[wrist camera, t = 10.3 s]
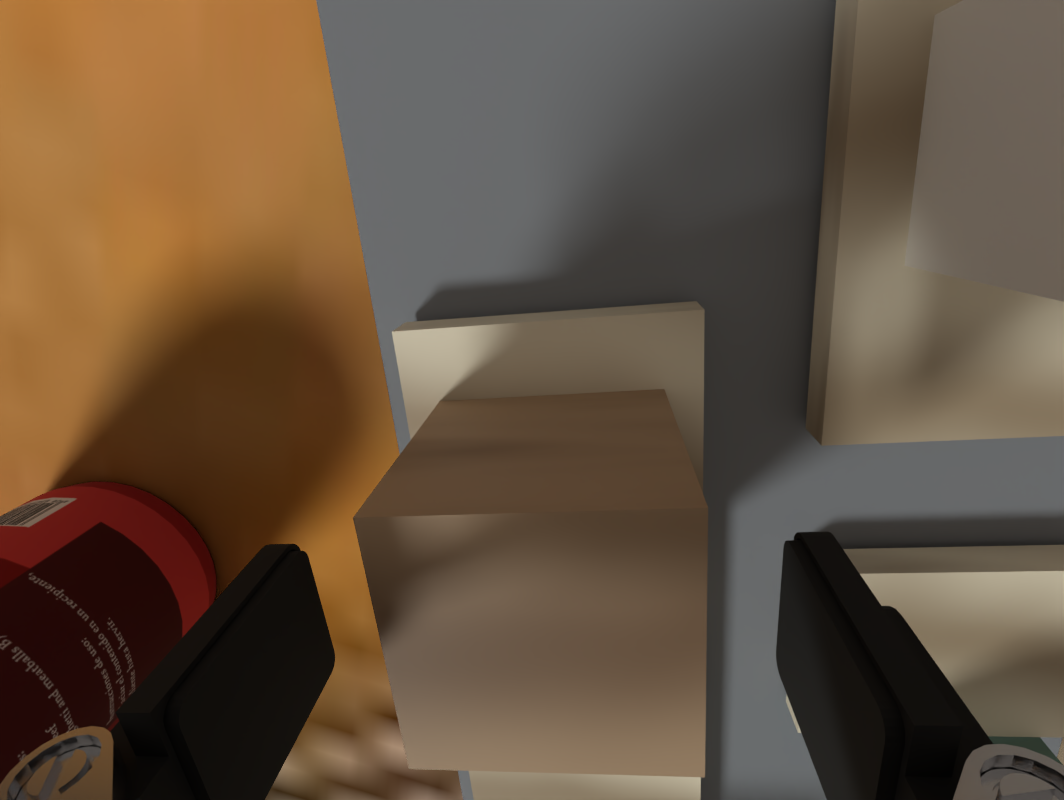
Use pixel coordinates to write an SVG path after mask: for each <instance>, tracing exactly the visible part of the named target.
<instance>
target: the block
mask: <svg viewBox="0 0 1064 800" xmlns="http://www.w3.org/2000/svg"><path fill="white" fill-rule="evenodd" d="M904 266H908V267H913V268H917V269H922V270H926V271H930V272H935V273H939V274H944V275H948V276H952V277H957V278H961V279H966V280H970V281H974V282H979V283H983V284H988V285H992V286H997V287H1001V288H1005V289H1010V290H1014V291H1019V292H1023V293H1027V294H1032V295H1036V296H1041V297H1045V298H1049V299H1054V300H1058V301H1063V302H1064V0H962V1H961V2H959V3H957V4H955V5H953V6H951V7H949V8H947V9H945V10H943V11H941V12H940V13H938V14H936V15H935V16H934V25H933V33H932V41H931V49H930V58H929V66H928V74H927V83H926V91H925V99H924V107H923V116H922V124H921V132H920V140H919V149H918V157H917V165H916V174H915V182H914V190H913V198H912V207H911V215H910V223H909V231H908V240H907V248H906V256H905V265H904Z"/></svg>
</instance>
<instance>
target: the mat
mask: <svg viewBox="0 0 1064 800" xmlns="http://www.w3.org/2000/svg"><path fill="white" fill-rule="evenodd" d="M316 1H317V6H318V12H319V17H320V23H321V28H322V33H323V39H324V44H325V50H326V55H327V61H328V66H329V72H330V77H331V82H332V88H333V93H334V99H335V104H336V110H337V115H338V121H339V126H340V131H341V137H342V142H343V148H344V153H345V159H346V164H347V169H348V175H349V180H350V186H351V191H352V197H353V202H354V208H355V213H356V218H357V224H358V229H359V235H360V240H361V246H362V251H363V257H364V262H365V267H366V273H367V278H368V284H369V289H370V295H371V300H372V306H373V311H374V316H375V322H376V327H377V333H378V338H379V344H380V349H381V355H382V360H383V365H384V371H385V376H386V382H387V387H388V393H389V398H390V403H391V409H392V414H393V420H394V425H395V431H396V436H397V442H398V447H399V452H400V454H401V453H402V451H403V450H404V448H405V447H406V446H407V444H408V443H409V442H410V440H411V439H410V433H409V427H408V422H407V416H406V410H405V405H404V399H403V393H402V388H401V382H400V376H399V370H398V365H397V359H396V353H395V348H394V342H393V336H392V331H393V330H395V329H396V328H398V327H399V326H401V325H402V324H404V323H405V322H414V321H428V320H442V319H456V318H470V317H483V316H497V315H511V314H525V313H539V312H553V311H566V310H580V309H594V308H608V307H622V306H636V305H649V304H663V303H677V302H691V301H697V302H698V303H699V304H700V306H701V307H702V308H703V309H704V310H705V313H704V436H703V495H704V498H705V501H706V503H707V506H708V563H707V649H706V736H705V777H701V800H827V799H826V796H825V794H824V791H823V788H822V786H821V783H820V781H819V778H818V775H817V773H816V770H815V767H814V765H813V762H812V760H811V757H810V754H809V752H808V749H807V746H806V744H805V741H804V738H803V736H802V733H798V732H797V729H796V726H795V724H794V721H793V719H792V716H791V713H790V711H789V708H788V705H787V703H786V691H785V688H784V686H783V683H782V681H781V678H780V675H779V672H778V668H777V662H776V645H777V631H778V617H779V603H780V589H781V575H782V562H783V548H784V543H785V541H787V540H794V536H795V534H796V533H797V532H827V531H828V532H831V533H832V534H833V535H834V537H835V538H836V540H837V541H838V543H839V544H840V546H841V547H842V549H868V548H920V547H972V546H1024V545H1064V436H1049V437H1024V438H1000V439H975V440H951V441H926V442H901V443H877V444H852V445H828V446H821V445H820V443H819V442H818V441H817V440H816V439H815V438H814V437H813V436H812V435H811V434H810V433H809V431H808V430H807V429H806V414H807V400H808V386H809V372H810V358H811V344H812V330H813V316H814V302H815V289H816V275H817V261H818V247H819V233H820V219H821V205H822V191H823V177H824V163H825V149H826V135H827V121H828V107H829V93H830V79H831V65H832V51H833V37H834V23H835V9H836V0H316ZM1040 738H1041V739H1042V740H1043V742H1044V743H1045V744H1046V745H1047V746H1048V748H1049V749H1050V750H1051V751H1052V752H1053V754H1054V755H1055V756H1056V757H1057V755H1058V751H1059V748H1060V744H1061V741H1062V738H1054V737H1040ZM458 774H459V779H460V784H461V790H462V795H463V800H474V798H473V793H472V787H471V781H470V775H469V771H461V770H458Z"/></svg>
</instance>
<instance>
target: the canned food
mask: <svg viewBox="0 0 1064 800" xmlns="http://www.w3.org/2000/svg"><path fill="white" fill-rule="evenodd" d="M215 595H216V574H215V569H214V563H213V561H212V558H211V556H210V553H209V551H208V549H207V546H206V545H205V543H204V542H203V540H202V538H201V537H200V535H199V534H198V532H197V531H196V530H195V529H194V527H193V526H192V525H191V524H190V523H189V522H188V521H187V520H186V519H185V518H184V516H182V515H181V514H180V513H179V512H177V511H176V510H175V509H174V508H172V507H171V506H170V505H169V504H167V503H166V502H164V501H162V500H161V499H159V498H157V497H155V496H154V495H152V494H150V493H148V492H145V491H143V490H140V489H137V488H135V487H132V486H129V485H124V484H119V483H114V482H95V481H94V482H88V483H82V484H76V485H72V486H67V487H63V488H58V489H54V490H52V491H49V492H47V493H45V494H42V495H40V496H37V497H36V498H34V499H32V500H30V501H28V502H26V503H24V504H23V505H21V506H19V507H17V508H15V509H13V510H11V511H10V512H8V513H6V514H4V515H2V516H0V784H1V782H2V781H3V780H4V778H5V777H6V776H7V775H8V773H9V772H10V771H11V770H12V769H13V768H14V767H15V766H16V765H17V764H18V763H19V762H20V761H21V760H22V759H23V758H25V757H26V756H27V755H28V754H30V753H31V752H33V751H34V750H35V749H37V748H38V747H40V746H41V745H42V744H44V743H46V742H48V741H50V740H52V739H54V738H55V737H57V736H59V735H61V734H64V733H67V732H69V731H72V730H75V729H78V728H83V727H89V726H96V727H104V728H105V729H107V730H108V731H109V732H110V731H111V730H112V729H113V728H114V726H115V725H116V724H117V723H118V722H119V719H118V717H117V715H116V713H115V712H116V711H117V710H118V709H119V708H120V707H121V706H122V704H123V703H124V702H125V701H126V700H127V699H128V698H129V697H130V696H131V694H132V693H133V692H134V691H135V690H136V689H137V688H138V687H139V685H140V684H141V683H142V682H143V681H144V680H145V679H146V678H147V676H148V675H149V674H150V673H151V672H152V671H153V670H154V669H155V668H156V666H157V665H158V664H159V663H160V662H161V661H162V660H163V659H164V657H165V656H166V655H167V654H168V653H169V652H170V651H171V650H172V649H173V647H174V646H175V645H176V644H177V643H178V642H179V641H180V640H181V638H182V637H183V636H184V635H185V634H186V633H187V632H188V631H189V629H190V628H191V627H192V626H193V625H194V624H195V623H196V622H197V621H198V619H199V618H200V617H201V616H202V615H203V614H204V613H205V612H206V610H207V609H208V608H209V607H210V606H211V605H212V604H213V602H214V599H215Z"/></svg>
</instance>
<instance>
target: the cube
mask: <svg viewBox="0 0 1064 800" xmlns="http://www.w3.org/2000/svg"><path fill="white" fill-rule="evenodd" d="M353 520H354V524H355V529H356V533H357V538H358V542H359V547H360V551H361V556H362V560H363V565H364V569H365V574H366V578H367V583H368V587H369V592H370V596H371V601H372V605H373V610H374V614H375V619H376V623H377V628H378V632H379V637H380V641H381V646H382V650H383V655H384V659H385V664H386V668H387V673H388V677H389V682H390V686H391V691H392V695H393V700H394V704H395V709H396V713H397V718H398V722H399V727H400V731H401V736H402V740H403V745H404V749H405V754H406V758H407V763H408V767H409V769H426V770H461V771H497V772H532V773H567V774H603V775H638V776H673V777H705V736H706V649H707V563H708V506H707V503H706V501H705V498H704V495H703V492H702V490H701V487H700V484H699V482H698V479H697V476H696V474H695V471H694V468H693V465H692V463H691V460H690V457H689V455H688V452H687V449H686V446H685V444H684V441H683V438H682V436H681V433H680V430H679V428H678V425H677V422H676V419H675V417H674V414H673V411H672V409H671V406H670V403H669V400H668V398H667V395H666V392H665V390H664V389H654V390H636V391H617V392H599V393H580V394H562V395H543V396H525V397H506V398H488V399H469V400H451V401H439V403H438V404H437V405H436V407H435V408H434V409H433V411H432V412H431V413H430V415H429V416H428V417H427V419H426V420H425V421H424V423H423V424H422V426H421V427H420V428H419V430H418V431H417V432H416V434H415V435H414V436H413V438H412V439H411V440H410V442H409V443H408V444H407V446H406V447H405V448H404V450H403V451H402V453H401V454H400V455H399V457H398V458H397V459H396V461H395V462H394V463H393V465H392V466H391V467H390V469H389V470H388V471H387V473H386V474H385V475H384V477H383V478H382V480H381V481H380V482H379V484H378V485H377V486H376V488H375V489H374V490H373V492H372V493H371V494H370V496H369V497H368V498H367V500H366V501H365V502H364V504H363V505H362V507H361V508H360V509H359V511H358V512H357V513H356V515H355V516H354V517H353Z"/></svg>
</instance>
